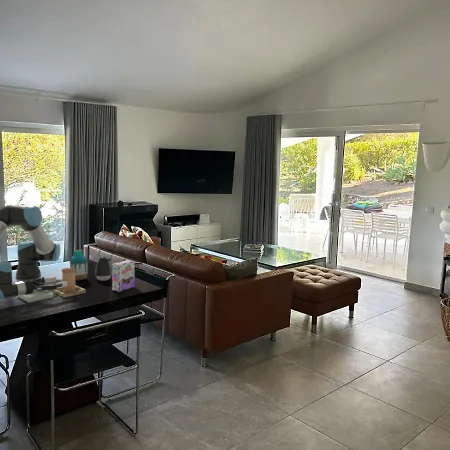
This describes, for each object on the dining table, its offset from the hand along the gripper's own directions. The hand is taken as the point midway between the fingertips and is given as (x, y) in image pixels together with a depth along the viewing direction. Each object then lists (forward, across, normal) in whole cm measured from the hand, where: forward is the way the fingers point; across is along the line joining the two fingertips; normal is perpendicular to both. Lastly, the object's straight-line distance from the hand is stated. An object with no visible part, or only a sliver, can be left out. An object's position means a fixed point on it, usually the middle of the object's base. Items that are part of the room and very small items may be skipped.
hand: (61, 281), depth 258 cm
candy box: (+33, +13, -8) cm, 36 cm away
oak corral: (+5, 0, -8) cm, 9 cm away
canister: (+5, 0, -8) cm, 9 cm away
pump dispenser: (+35, -13, -8) cm, 38 cm away
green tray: (-13, -4, -8) cm, 16 cm away
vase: (+23, -22, -8) cm, 33 cm away
